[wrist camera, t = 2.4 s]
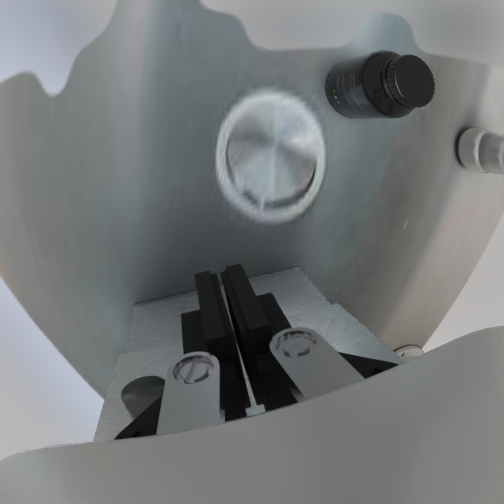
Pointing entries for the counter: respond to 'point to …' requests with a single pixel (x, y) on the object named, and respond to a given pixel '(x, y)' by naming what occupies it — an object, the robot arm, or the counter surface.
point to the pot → (170, 308)
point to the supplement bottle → (380, 85)
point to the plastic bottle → (482, 151)
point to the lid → (160, 358)
